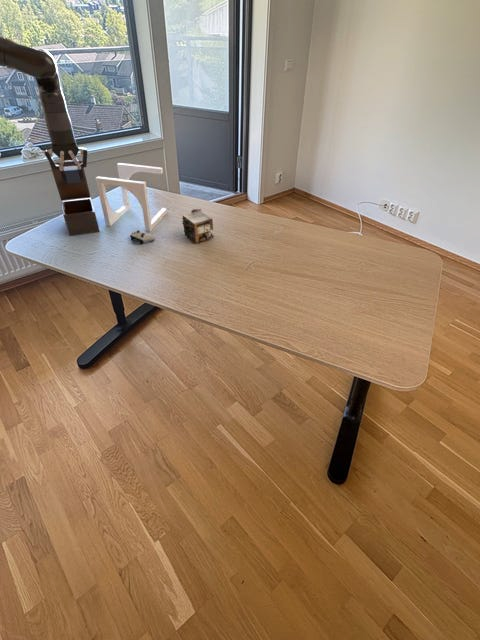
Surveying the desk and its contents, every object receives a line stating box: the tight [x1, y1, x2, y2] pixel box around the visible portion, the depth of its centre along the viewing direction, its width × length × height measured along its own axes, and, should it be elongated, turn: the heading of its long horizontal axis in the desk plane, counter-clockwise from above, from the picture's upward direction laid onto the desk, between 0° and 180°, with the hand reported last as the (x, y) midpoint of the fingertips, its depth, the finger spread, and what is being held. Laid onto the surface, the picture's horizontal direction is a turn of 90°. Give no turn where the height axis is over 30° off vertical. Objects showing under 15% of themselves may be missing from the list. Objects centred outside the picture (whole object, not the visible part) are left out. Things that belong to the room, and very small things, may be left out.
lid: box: [49, 159, 91, 201], centre depth 141 cm, size 15×12×5 cm
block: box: [64, 166, 81, 184], centre depth 122 cm, size 4×4×4 cm
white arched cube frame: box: [94, 162, 168, 233], centre depth 148 cm, size 20×20×20 cm
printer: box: [181, 208, 215, 243], centre depth 140 cm, size 11×25×10 cm, turn 24°
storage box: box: [60, 197, 101, 237], centre depth 144 cm, size 15×12×9 cm
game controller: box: [129, 229, 156, 245], centre depth 139 cm, size 10×5×6 cm
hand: (73, 180), depth 124 cm, fingers closed on block, 4 cm apart
